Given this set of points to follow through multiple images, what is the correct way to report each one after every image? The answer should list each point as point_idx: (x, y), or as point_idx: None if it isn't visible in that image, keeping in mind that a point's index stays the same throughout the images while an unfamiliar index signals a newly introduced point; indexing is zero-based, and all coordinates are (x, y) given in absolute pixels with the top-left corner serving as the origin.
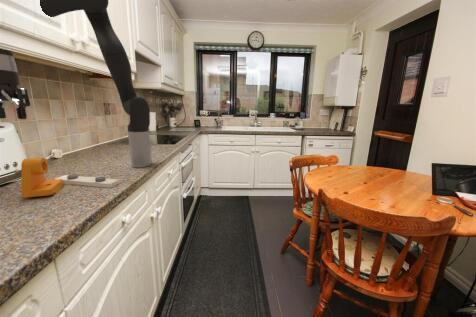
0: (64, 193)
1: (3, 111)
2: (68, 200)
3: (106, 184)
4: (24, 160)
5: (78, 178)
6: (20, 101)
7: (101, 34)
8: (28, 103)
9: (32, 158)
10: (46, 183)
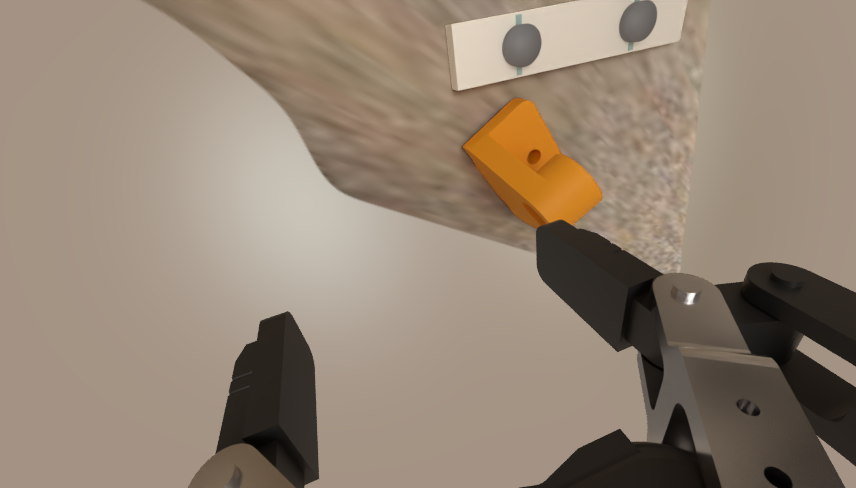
0: (568, 138)
1: (291, 381)
2: (611, 162)
3: (665, 43)
4: None
5: (542, 39)
6: (794, 390)
7: None
8: (817, 299)
9: (570, 210)
10: (518, 153)
